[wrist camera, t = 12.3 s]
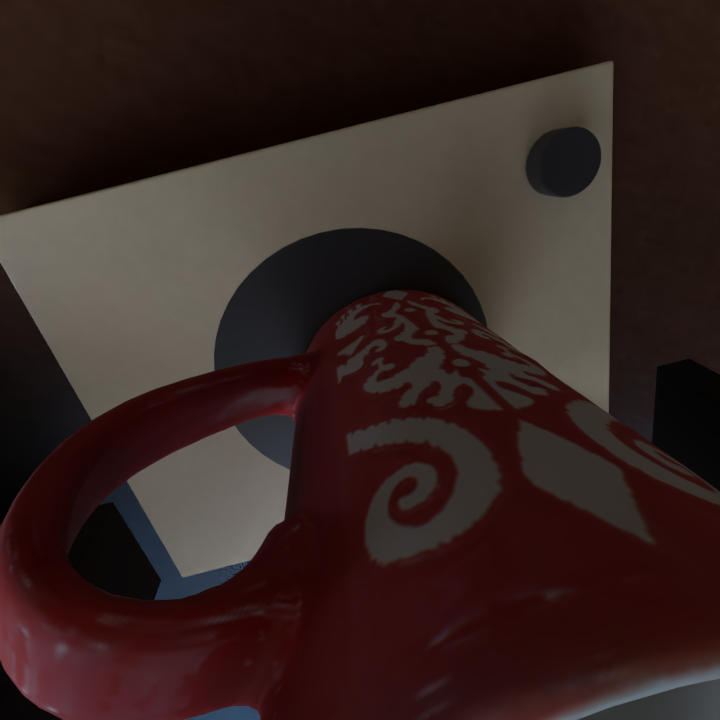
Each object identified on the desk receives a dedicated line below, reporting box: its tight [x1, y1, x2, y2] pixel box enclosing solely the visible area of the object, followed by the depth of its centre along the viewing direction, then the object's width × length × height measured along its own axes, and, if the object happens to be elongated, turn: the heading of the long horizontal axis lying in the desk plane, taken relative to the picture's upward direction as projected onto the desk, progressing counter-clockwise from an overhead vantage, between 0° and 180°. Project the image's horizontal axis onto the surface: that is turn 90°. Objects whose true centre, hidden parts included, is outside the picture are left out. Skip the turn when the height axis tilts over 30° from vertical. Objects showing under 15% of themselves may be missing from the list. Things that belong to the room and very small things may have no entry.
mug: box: [0, 290, 720, 720], centre depth 11 cm, size 13×9×14 cm
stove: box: [0, 61, 613, 577], centre depth 17 cm, size 20×16×3 cm
